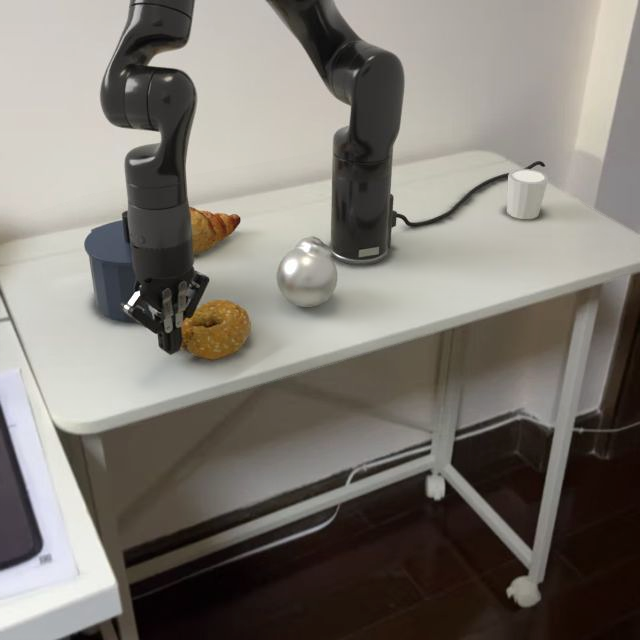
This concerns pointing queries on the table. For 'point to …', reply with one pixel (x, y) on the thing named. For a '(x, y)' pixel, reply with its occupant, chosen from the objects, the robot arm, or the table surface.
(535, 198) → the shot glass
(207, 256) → the table surface
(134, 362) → the table surface
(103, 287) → the pot
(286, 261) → the silver round bulb
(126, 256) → the pot lid
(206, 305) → the bagel
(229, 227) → the croissant
